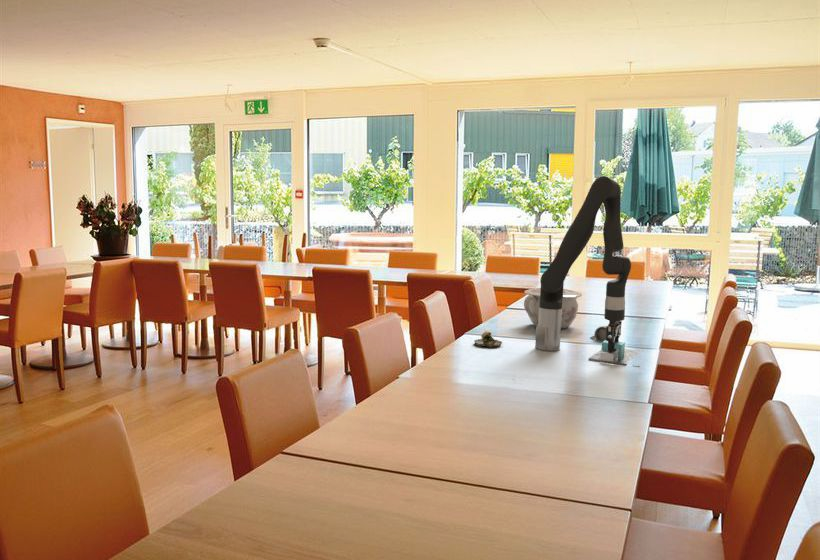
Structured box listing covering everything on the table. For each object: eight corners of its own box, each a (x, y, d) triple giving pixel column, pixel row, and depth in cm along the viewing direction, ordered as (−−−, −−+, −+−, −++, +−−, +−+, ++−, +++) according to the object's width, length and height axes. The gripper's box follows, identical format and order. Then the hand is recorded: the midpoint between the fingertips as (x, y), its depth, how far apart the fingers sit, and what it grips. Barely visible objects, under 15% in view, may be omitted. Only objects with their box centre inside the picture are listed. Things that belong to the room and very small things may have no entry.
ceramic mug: (616, 341, 307) (617, 325, 307) (609, 344, 301) (610, 327, 300) (594, 338, 313) (594, 322, 313) (587, 341, 307) (588, 325, 306)
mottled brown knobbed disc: (479, 349, 286) (480, 331, 285) (469, 343, 297) (470, 326, 296) (506, 348, 289) (507, 330, 288) (495, 342, 300) (496, 325, 299)
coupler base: (624, 366, 264) (625, 355, 263) (588, 360, 271) (589, 350, 270) (641, 353, 286) (641, 343, 285) (607, 348, 293) (607, 339, 292)
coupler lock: (620, 360, 269) (621, 344, 268) (599, 356, 273) (600, 341, 272) (623, 357, 273) (624, 342, 272) (603, 354, 277) (604, 339, 276)
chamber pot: (575, 322, 351) (578, 282, 348) (583, 333, 324) (586, 289, 321) (519, 320, 353) (521, 279, 351) (523, 330, 326) (525, 287, 324)
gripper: (620, 311, 263) (618, 354, 265) (629, 305, 275) (627, 346, 277) (600, 309, 266) (598, 352, 269) (609, 303, 279) (608, 344, 281)
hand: (613, 349), depth 273 cm, fingers open, 6 cm apart
